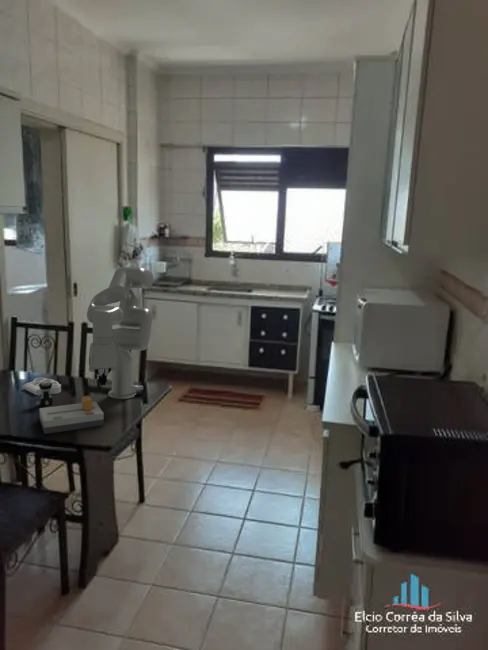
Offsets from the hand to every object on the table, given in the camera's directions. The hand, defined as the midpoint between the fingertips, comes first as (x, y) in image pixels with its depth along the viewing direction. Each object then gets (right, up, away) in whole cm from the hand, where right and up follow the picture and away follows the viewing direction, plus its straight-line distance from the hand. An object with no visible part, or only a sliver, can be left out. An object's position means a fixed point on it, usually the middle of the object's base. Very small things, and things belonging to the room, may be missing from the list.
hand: (102, 384), depth 203 cm
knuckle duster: (-37, -7, +33) cm, 50 cm away
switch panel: (-12, -15, -1) cm, 19 cm away
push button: (-29, -11, +15) cm, 35 cm away
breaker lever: (-6, -12, 0) cm, 13 cm away
